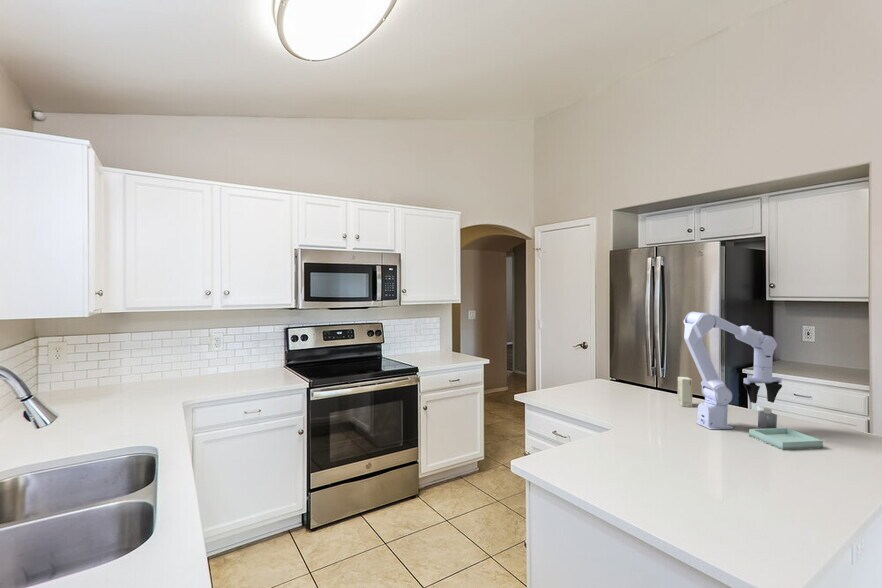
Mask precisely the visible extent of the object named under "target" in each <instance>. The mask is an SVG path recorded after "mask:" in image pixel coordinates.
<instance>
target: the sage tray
mask: <svg viewBox="0 0 882 588" xmlns="http://www.w3.org/2000/svg"><path fill="white" fill-rule="evenodd" d="M750 436H751V438H752V437H753V438H752V439H755V438H756V440H757V439H758V440H757V441H760V440H761V441H760V442H762V441H763V443H764V442H766V443H765V444H767V443H768V445H769V444H771V445H770V446H772V445H773V446H772V447H774V446H775V447H774V448H776V447H778V448H777V449H779V448H780V450H781V449H782V450H781V451H788V450H787V449H794V450H809V449H808V448H816V449H824V447H823V445H824V444H823V443H824V442H823V441H824V440H822V439H820V438H816V437H814V436H812V435H811V436H810V435H808V434H805V433H802V432H800V431H796V430H794V429H791V428H788V427H777V428H768V429H761V428H749V432H748V437H750Z"/></svg>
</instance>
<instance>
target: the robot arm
mask: <svg viewBox="0 0 882 588" xmlns="http://www.w3.org/2000/svg"><path fill="white" fill-rule="evenodd" d="M683 324H684V335H683V339H684V341H685V343H686V346H687V348H688V351H689V353H690V356H691V357H692V359H693V361H694V363H695V366H696V369H697V371H698V373H699V375H700V377H701V379H702V381H701V382H700V385H701V393H702V395H703V397H704V400H705V401H704V402H701V403H699V404H698V406H697V415H696V416H697V417H696V421H695V424H697V425H700V426H702V427H704V428H707V429H709V430H728V429H729V430H730V429H734V427H733V426H730V425H728V406H729V403H731V402H732V400H733V393H732V391H731V390H730V389H729V388H728V387H727V386H726V384H725V382H724V381H722V379H721V378H719V376H718V374H717V370H716V369H715V367H714V365H713V361H712V359H711V357H710V355H709V353H708V350H707V348H706V347H705V344H704V341H703V338H704V336H705V335H707V334H708V333H709V332H710V331H711V330H712V329H713V328H718V329H720V330H723V331H726V332H729V333H730V334H733V335H734V337H735V339H736V340H737V341H740V342H743V343H745V344H748V345H749V346H751V347H752V348H753V374H752V376H750V377H744V378H743V383H742V385H743V386H744V389H745V391H747V395H748V397H749V402H750V403H753V404H757V401H758V392H759V391H760V388H761V386H760V385H757V384H764V386H765V389H766V397H767V398H766V400H767V402H769V403H771V404H772V403H773V404H774V403H775V400H776V397H777V395H778V393H779V391H780V390H781V389H782V387H783V384H782V381H783V380H782V377H778V376H777V377H776V376H773V359H774V358H773V357H774V351H775V350H776V349H777V347H778V343H777V342H776V339H775V338H774V337H773V336H771V335H765V334H764V332H763V331H760V330H759V331H758V330H755V329H753V328H752V326H750V325H741V326H738V325H736V324H734V323H732V322H730V321H728V320H726V319H725V318H722V317H720V316H717V315H715V314H711V313H709V312H698V311H690V312H688V313H687V314H686V316H685V318H684V319H683Z"/></svg>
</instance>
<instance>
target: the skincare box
mask: <svg viewBox="0 0 882 588" xmlns="http://www.w3.org/2000/svg"><path fill="white" fill-rule="evenodd" d="M676 402H677V404H678V405H679V406H681V407H683V408H684V407H685V408H687V407H688V408H692V407H693V379H692V378H691V377H689V376H677V401H676Z"/></svg>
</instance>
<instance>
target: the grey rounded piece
mask: <svg viewBox="0 0 882 588" xmlns="http://www.w3.org/2000/svg"><path fill="white" fill-rule="evenodd" d="M772 411H773V410H772V408H771V409H770V408H768V407H763V410H758V414H757V428H758V429H761V428H762V429H768V428H778V423H777V422H778V414H776V413H773V412H772Z"/></svg>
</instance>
